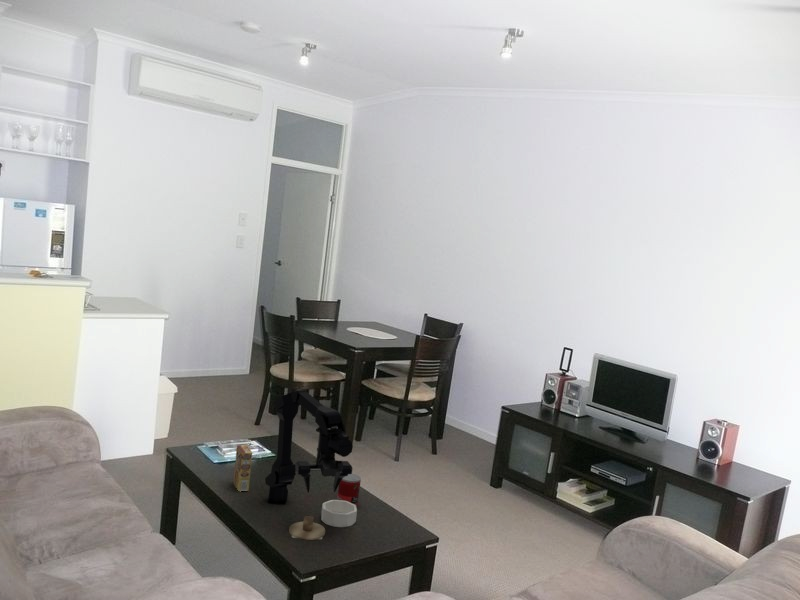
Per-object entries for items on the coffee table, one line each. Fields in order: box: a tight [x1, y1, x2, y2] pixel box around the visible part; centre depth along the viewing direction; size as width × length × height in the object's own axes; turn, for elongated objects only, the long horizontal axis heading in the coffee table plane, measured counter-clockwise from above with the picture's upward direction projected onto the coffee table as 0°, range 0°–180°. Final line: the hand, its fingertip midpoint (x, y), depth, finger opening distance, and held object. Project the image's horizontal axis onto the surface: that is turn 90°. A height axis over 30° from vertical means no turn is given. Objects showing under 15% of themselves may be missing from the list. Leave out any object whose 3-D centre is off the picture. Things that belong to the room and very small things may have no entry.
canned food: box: [336, 473, 362, 508], centre depth 254 cm, size 8×8×11 cm
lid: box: [288, 515, 326, 541], centre depth 228 cm, size 12×12×5 cm
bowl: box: [320, 499, 358, 528], centre depth 240 cm, size 12×12×5 cm
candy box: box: [233, 444, 253, 493], centre depth 258 cm, size 9×4×15 cm, turn 27°
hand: (321, 492), depth 232 cm, fingers open, 9 cm apart
